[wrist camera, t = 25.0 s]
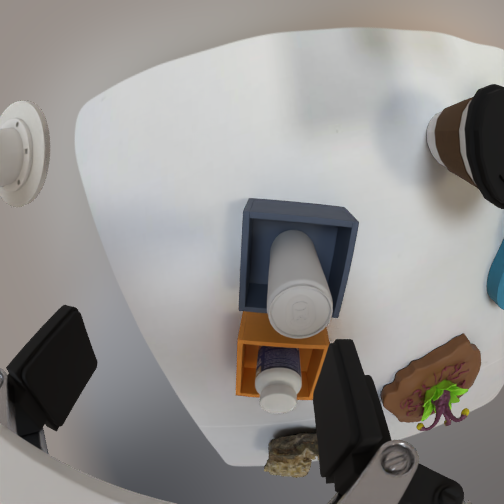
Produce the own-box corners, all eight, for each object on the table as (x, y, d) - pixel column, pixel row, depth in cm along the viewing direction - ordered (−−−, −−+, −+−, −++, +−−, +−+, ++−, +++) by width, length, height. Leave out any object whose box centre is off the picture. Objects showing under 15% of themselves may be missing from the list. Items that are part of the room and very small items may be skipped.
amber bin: (240, 366, 38) (235, 395, 33) (243, 310, 34) (237, 339, 29) (309, 371, 38) (312, 400, 32) (324, 316, 34) (330, 345, 28)
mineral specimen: (313, 454, 49) (314, 490, 40) (257, 449, 49) (254, 487, 40) (341, 424, 43) (346, 466, 34) (276, 418, 43) (274, 464, 34)
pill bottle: (254, 334, 35) (247, 392, 26) (296, 328, 34) (300, 386, 25) (262, 362, 37) (258, 419, 28) (301, 357, 36) (305, 414, 27)
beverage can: (272, 271, 31) (270, 342, 20) (267, 230, 29) (261, 288, 18) (315, 267, 30) (334, 336, 19) (312, 225, 29) (334, 280, 18)
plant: (481, 371, 37) (502, 409, 27) (404, 422, 43) (416, 463, 33) (467, 317, 32) (501, 363, 22) (369, 385, 38) (383, 440, 28)
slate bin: (244, 284, 33) (238, 311, 28) (249, 197, 29) (242, 210, 24) (329, 290, 32) (338, 318, 27) (344, 207, 28) (359, 222, 23)
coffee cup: (456, 202, 26) (520, 235, 15) (393, 151, 25) (457, 162, 14) (486, 131, 22) (553, 141, 11) (427, 75, 21) (493, 57, 10)
